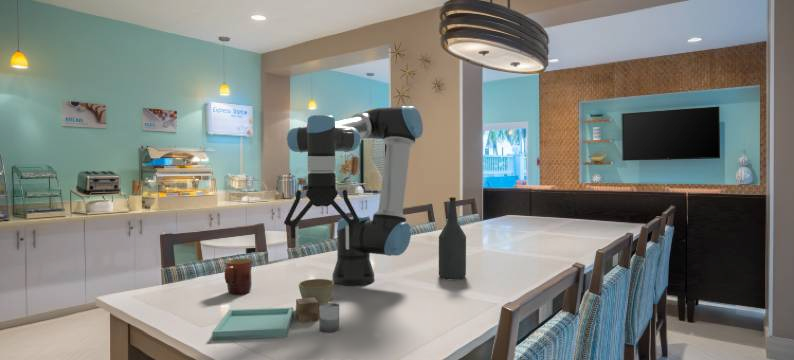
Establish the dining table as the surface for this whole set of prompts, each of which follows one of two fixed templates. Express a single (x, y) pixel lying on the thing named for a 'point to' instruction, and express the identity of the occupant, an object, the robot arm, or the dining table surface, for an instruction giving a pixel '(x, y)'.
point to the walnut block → (307, 310)
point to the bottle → (452, 247)
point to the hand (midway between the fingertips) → (322, 249)
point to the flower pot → (317, 290)
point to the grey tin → (329, 317)
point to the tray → (254, 324)
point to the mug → (238, 275)
